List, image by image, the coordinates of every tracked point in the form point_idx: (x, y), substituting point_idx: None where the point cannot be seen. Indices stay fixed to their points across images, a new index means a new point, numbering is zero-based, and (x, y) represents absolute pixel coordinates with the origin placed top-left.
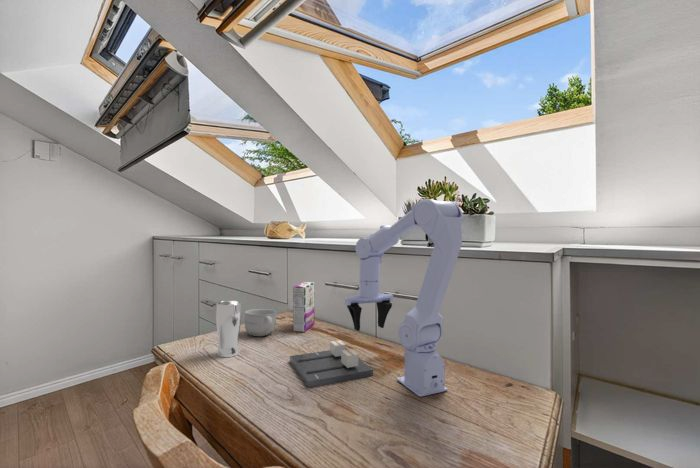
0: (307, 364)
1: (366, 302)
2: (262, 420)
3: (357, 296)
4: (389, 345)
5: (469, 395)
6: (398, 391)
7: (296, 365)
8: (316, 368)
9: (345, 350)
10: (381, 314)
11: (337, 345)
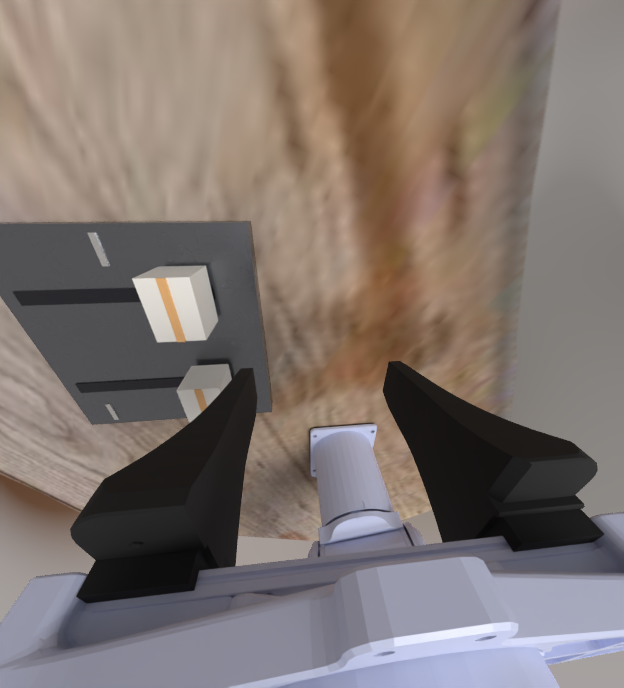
0: (69, 335)
1: (318, 574)
2: (29, 475)
3: (211, 667)
4: (467, 207)
5: (384, 478)
6: (290, 454)
7: (25, 327)
8: (107, 370)
9: (192, 392)
10: (420, 440)
11: (166, 340)
